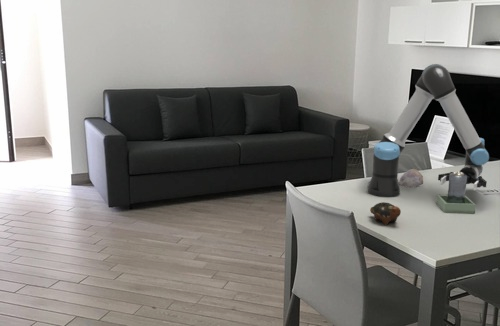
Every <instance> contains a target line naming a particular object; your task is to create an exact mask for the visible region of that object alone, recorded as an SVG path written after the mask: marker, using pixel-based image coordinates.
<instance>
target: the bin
mask: <svg viewBox="0 0 500 326" xmlns="http://www.w3.org/2000/svg"><path fill="white" fill-rule="evenodd" d="M447 197H448V194H437V195H436V202H435V204H436V206H437V207H439V209H441V211H442V212H443V213H445V214H446V213H447V214H448V213H450V214H473V215H474V214H475V213H476V212H475V211H476V203H475V202H474V201H473V200H472V199H470V198H469V197H468V196H467V195H465V201H464V204H461V203H447Z"/></svg>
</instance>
